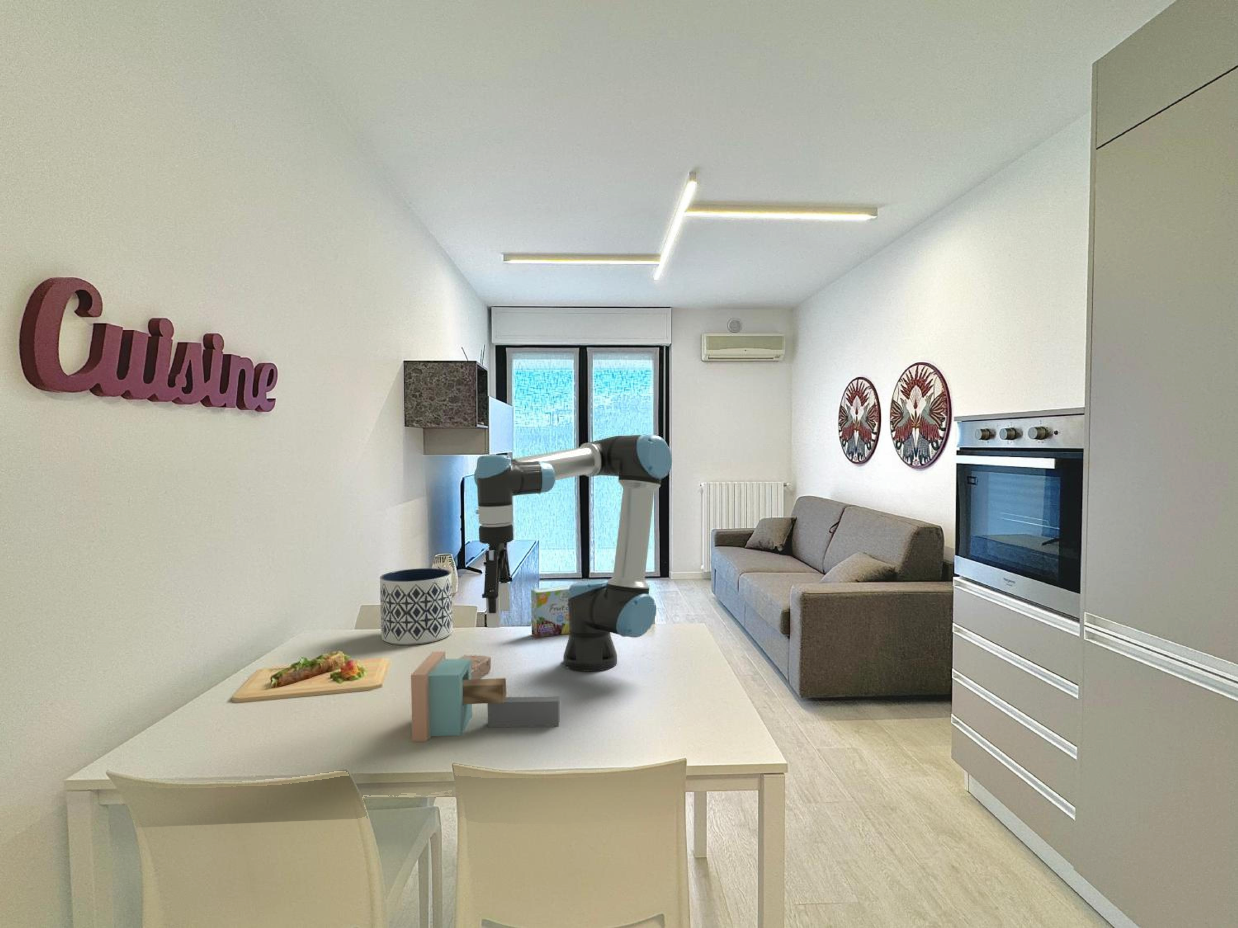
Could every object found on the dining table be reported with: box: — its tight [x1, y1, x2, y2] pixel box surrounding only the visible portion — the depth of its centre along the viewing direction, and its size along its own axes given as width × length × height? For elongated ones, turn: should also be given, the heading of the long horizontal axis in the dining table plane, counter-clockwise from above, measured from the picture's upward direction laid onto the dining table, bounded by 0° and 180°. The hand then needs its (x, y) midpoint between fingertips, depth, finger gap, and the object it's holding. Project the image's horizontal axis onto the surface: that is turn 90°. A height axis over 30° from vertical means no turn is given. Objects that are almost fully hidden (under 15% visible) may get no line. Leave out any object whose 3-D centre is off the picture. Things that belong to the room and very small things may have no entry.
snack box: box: [530, 584, 572, 639], centre depth 221 cm, size 21×6×15 cm, turn 117°
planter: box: [379, 567, 454, 646], centre depth 219 cm, size 22×22×20 cm
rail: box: [486, 695, 561, 728], centre depth 148 cm, size 16×3×6 cm, turn 90°
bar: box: [463, 677, 507, 705], centre depth 148 cm, size 13×4×4 cm, turn 90°
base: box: [410, 650, 446, 742], centre depth 148 cm, size 3×16×14 cm, turn 0°
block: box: [429, 658, 473, 737], centre depth 148 cm, size 6×11×13 cm, turn 0°
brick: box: [458, 654, 492, 679], centre depth 177 cm, size 17×8×5 cm, turn 163°
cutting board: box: [231, 650, 391, 703], centre depth 179 cm, size 35×23×8 cm
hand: (499, 618), depth 150 cm, fingers open, 13 cm apart
